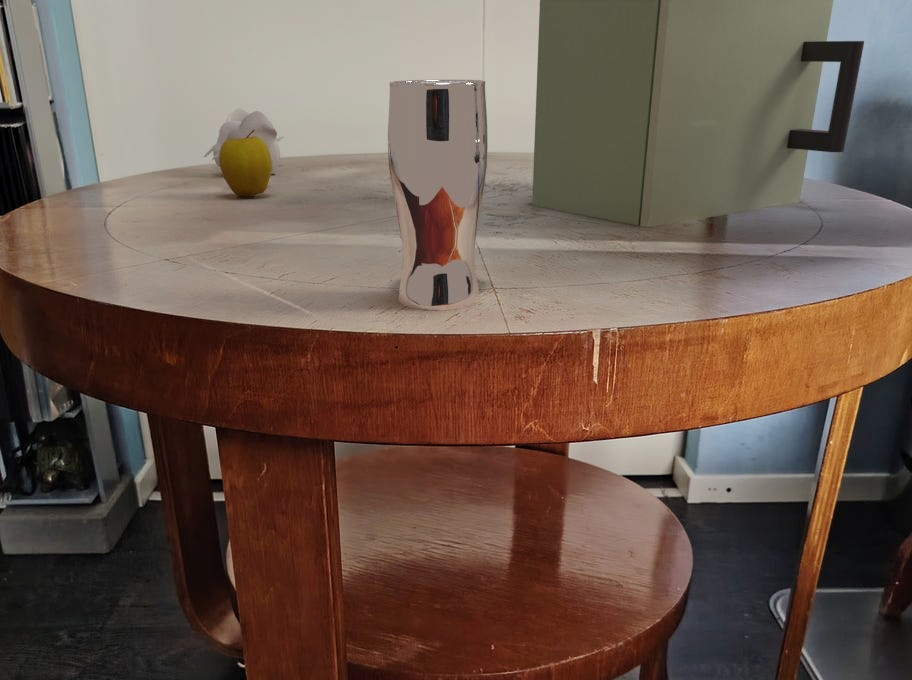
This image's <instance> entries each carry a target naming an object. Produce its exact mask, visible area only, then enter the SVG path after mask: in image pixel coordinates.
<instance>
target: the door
mask: <svg viewBox="0 0 912 680" xmlns="http://www.w3.org/2000/svg"><path fill="white" fill-rule="evenodd" d="M833 6H834V0H661V4H660V15H659V26H658V37H657V48H656V59H655V70H654V80H653V91H652V102H651V113H650V124H649V135H648V146H647V156H646V167H645V178H644V189H643V200H642V211H641V222H640V225H639V227H642V228H643V227H644V228H653V227H658V226H659V227H660V226H663V225H664V226H665V225H672V224H677V223H684V222H690V221H696V220H701V219H708V218H713V217H719V216H720V217H721V216H725V215H726V216H727V215H732V214H739V213H744V212H751V211H757V210H763V209H769V208H775V207H782V206H788V205H793V204H794V205H795V204H799V203H800V201H801V195H802V189H803V185H804V184H803V183H804V178H805V171H806V165H807V161H808V160H807V159H808V154H809V151H815V152H825V153H844V152H845V147H846V143H847V137H848V131H849V127H850V121H851V115H852V110H853V105H854V99H855V94H856V89H857V84H858V83H857V82H858V78H859V72H860V69H861V63H862V57H863V51H864V45H865V41H864V40H829V41H828V36H829V29H830V25H831V17H832V11H833ZM824 63H839V69H838V74H837V81H836V84H835V85H836V86H835V92H834V96H833V97H834V98H833V101H832V108H831V109H832V110H831V114H830V119H829V125H828V129H827V130H822V129H813V124H814V117H815V114H816V113H815V112H816V107H817V106H816V105H817V101H818V95H819V88H820V82H821V76H822V70H823V64H824Z"/></svg>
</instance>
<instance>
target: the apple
mask: <svg viewBox="0 0 912 680" xmlns="http://www.w3.org/2000/svg"><path fill="white" fill-rule="evenodd" d="M253 132H254V130H253V131H252V132H251V133H250V134H249V135H248V136H247V137H246V138H241V139H233V138H231V139H228V140H226V141H225V142H224V143H223V144H222V146H221V148H220V153H219V163H220V167H219V168H220V171H221V174H222V176H223V179H224V180H225V182H226V184H227V186H228V187H229V188H230V190H231V191H232V192H233V193H234V194H235V195H236V196H237V197H238V198H246V197H254V196H255V195H260V194H263V193H264V192H266V190H267V188H268V185H269V183H270V182H269V181H270V178H271V176H272V175H271V172H272V160H271V156H270V153H269V150H268V147H267V145H266V144H265V142H264V141H263V140H262V139H260V138H259V137H255V136H253V137H250V138H249V136H250V135H251V134H252V133H253Z"/></svg>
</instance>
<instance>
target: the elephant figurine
mask: <svg viewBox="0 0 912 680" xmlns="http://www.w3.org/2000/svg"><path fill="white" fill-rule="evenodd" d="M253 130H254V132H253V133H252V134H251V135H250V136H249V138H250V137H253V136H255V137H259V138H260V139H262V140H263V141H264V142H265V144H266V145H267V147H268V150H269V153H270V156H271V160H272V172H271V174H274V175H276V174H277V172H278V169H279V167H280V162H281V151H280V146H279V143H278V142H279V141H281V140H282V139H284V138H285V136H284V135H281V136H278V132H277V129H276V128H275V127H274V124H273V122H272V121H271V119H270V118H269V117H268V116H267V115H265V114H264V113H263V112H262V111H258V110H255V111H252V112H251V113H249V112H248V111H247V110H245V109H243V108H235V109H233V110H231V111H230V112H229V113H228V114H227V117H226V121H225V122H223V124H222V125H221V126H220V128H219V131H218V137H217V140H216V143H215V144H213V146H212V147H211V148H210V149H209V150H208V151H206V153H205V154H204V156H203V158H207V157H208V156H209V155H211V153H212V155H213V157H212V158H211V162H212V161H214V162H215V164H216V166H218V167H219V168H220V163H219V153H220V148H221V146H222V144H223V143H224V142H225V141H226V140H228V139H231V138H233V139H241V138H246V137H247V136H248V135H249V134H250V133H251V132H252V131H253Z"/></svg>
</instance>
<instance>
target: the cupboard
mask: <svg viewBox="0 0 912 680" xmlns="http://www.w3.org/2000/svg"><path fill="white" fill-rule="evenodd" d="M660 4H661V0H539V12H538V14H539V15H538V42H537V63H536V64H537V66H536V67H537V68H536V69H537V71H536V90H535V92H536V93H535V95H536V96H535V120H534V141H533V142H534V143H533V144H534V146H533V171H532V172H533V173H532V195H531V196H532V197H531V198H532V199H531V205H532V206H534V207H539V208H546V209H550V210H554V211H560V212H564V213H565V212H566V213H571V214H575V215H580V216H581V215H582V216H586V217H590V218H596V219H602V220H607V221H613V222H618V223H621V224H628V225H633V226H640V222H641V211H642V200H643V189H644V178H645V167H646V156H647V146H648V135H649V124H650V113H651V102H652V91H653V80H654V70H655V59H656V48H657V37H658V26H659V15H660Z"/></svg>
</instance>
